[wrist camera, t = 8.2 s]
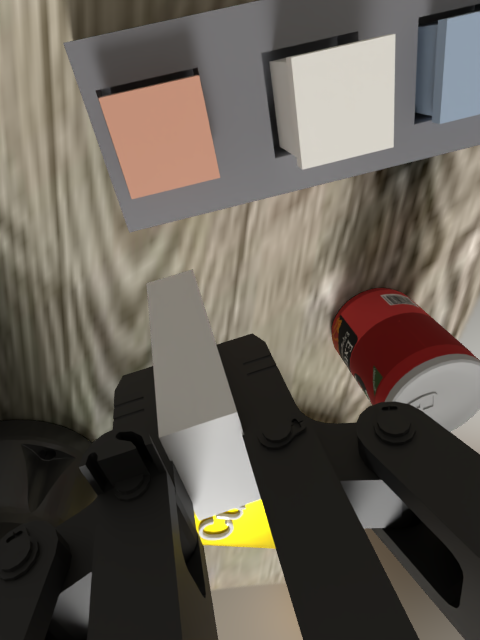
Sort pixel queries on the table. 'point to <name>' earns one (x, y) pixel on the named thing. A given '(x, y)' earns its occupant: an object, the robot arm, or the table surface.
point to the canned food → (407, 357)
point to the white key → (336, 101)
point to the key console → (259, 93)
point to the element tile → (237, 528)
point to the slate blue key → (449, 68)
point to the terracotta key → (161, 136)
